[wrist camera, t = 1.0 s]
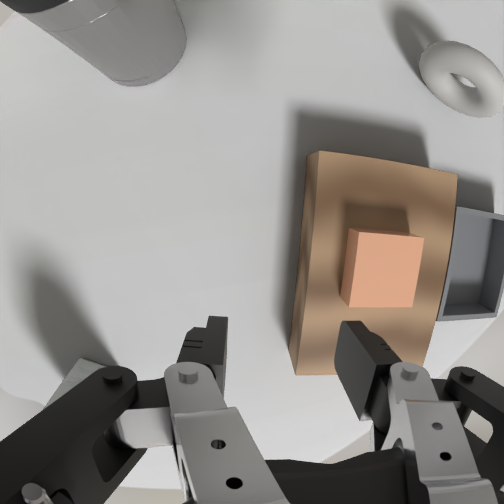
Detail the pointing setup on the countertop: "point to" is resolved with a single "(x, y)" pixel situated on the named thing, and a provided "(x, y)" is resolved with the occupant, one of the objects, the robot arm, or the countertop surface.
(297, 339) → the chopping block
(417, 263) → the tile
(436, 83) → the donut
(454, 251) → the bin
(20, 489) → the robot arm
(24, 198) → the countertop surface
